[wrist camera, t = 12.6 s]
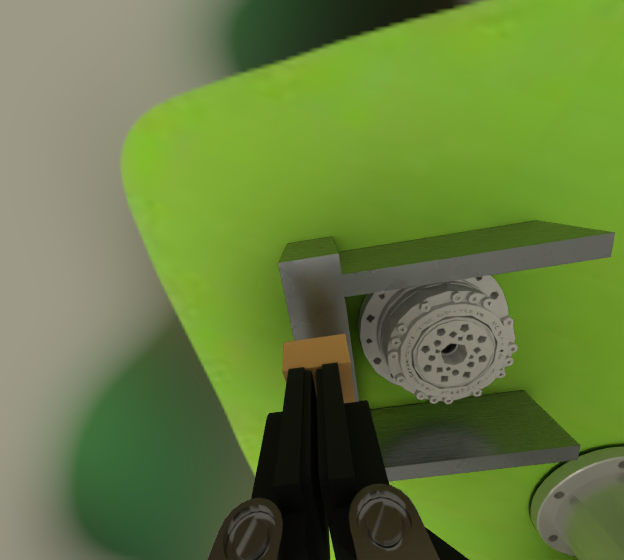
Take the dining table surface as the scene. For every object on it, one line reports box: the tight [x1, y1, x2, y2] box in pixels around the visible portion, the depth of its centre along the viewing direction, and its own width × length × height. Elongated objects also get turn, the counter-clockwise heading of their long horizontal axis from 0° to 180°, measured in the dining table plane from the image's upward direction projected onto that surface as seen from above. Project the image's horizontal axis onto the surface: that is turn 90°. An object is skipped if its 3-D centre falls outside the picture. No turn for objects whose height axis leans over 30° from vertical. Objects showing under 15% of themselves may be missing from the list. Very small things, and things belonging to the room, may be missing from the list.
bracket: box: [278, 220, 615, 481], centre depth 18 cm, size 17×16×7 cm
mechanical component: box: [358, 275, 518, 404], centre depth 19 cm, size 10×4×10 cm
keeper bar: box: [282, 334, 355, 403], centre depth 14 cm, size 14×3×1 cm, turn 9°
